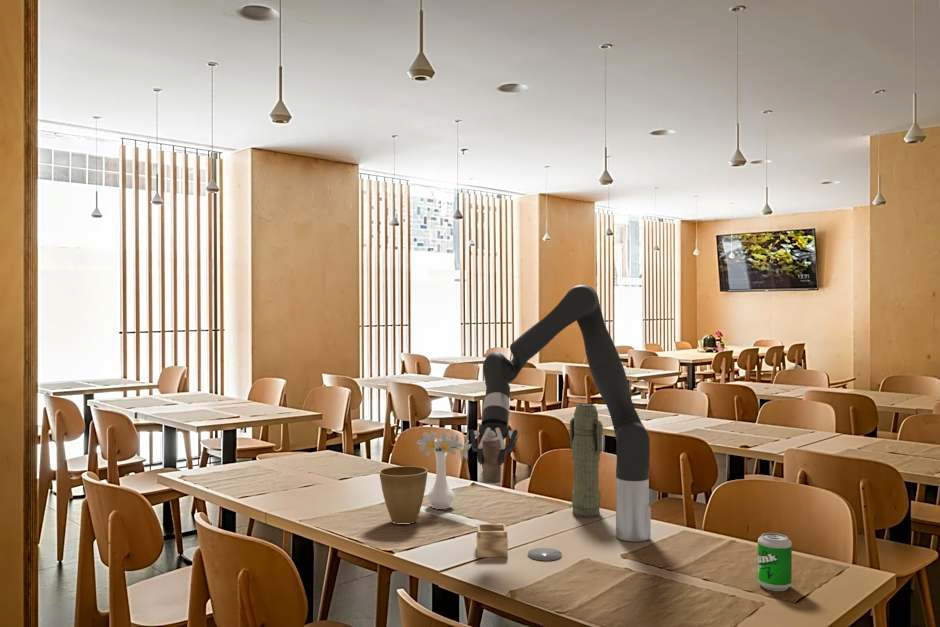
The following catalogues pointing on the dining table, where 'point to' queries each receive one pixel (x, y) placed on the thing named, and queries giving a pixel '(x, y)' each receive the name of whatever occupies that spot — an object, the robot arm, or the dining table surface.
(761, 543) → the soda can
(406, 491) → the plant pot
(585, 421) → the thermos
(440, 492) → the flower vase
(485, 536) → the oak caddy
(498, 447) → the pepper mill
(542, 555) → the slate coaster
